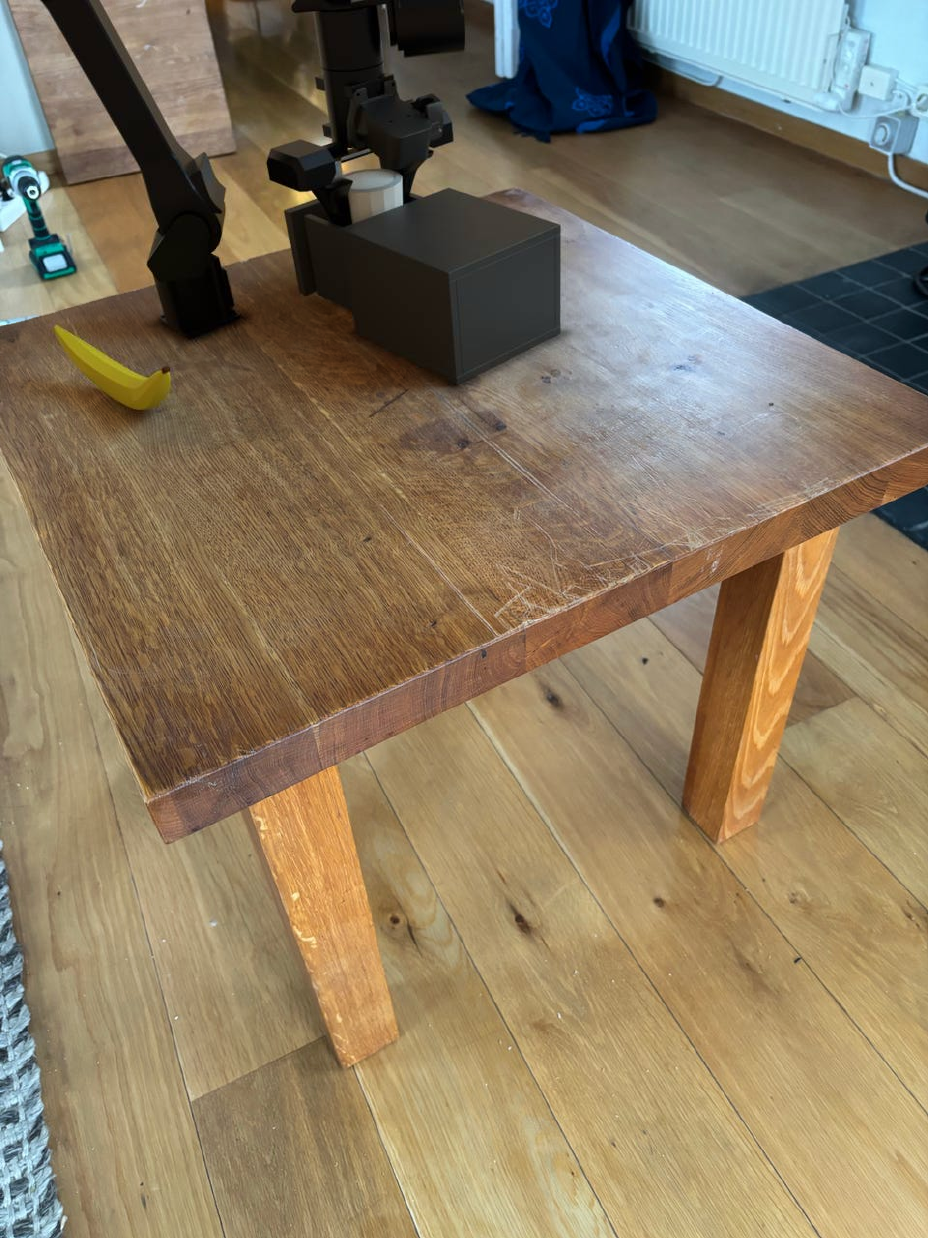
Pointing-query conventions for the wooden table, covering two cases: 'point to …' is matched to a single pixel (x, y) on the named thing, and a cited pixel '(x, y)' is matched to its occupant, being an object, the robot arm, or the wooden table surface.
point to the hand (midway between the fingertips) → (373, 234)
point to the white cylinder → (373, 192)
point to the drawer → (319, 252)
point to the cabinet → (454, 282)
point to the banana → (115, 374)
